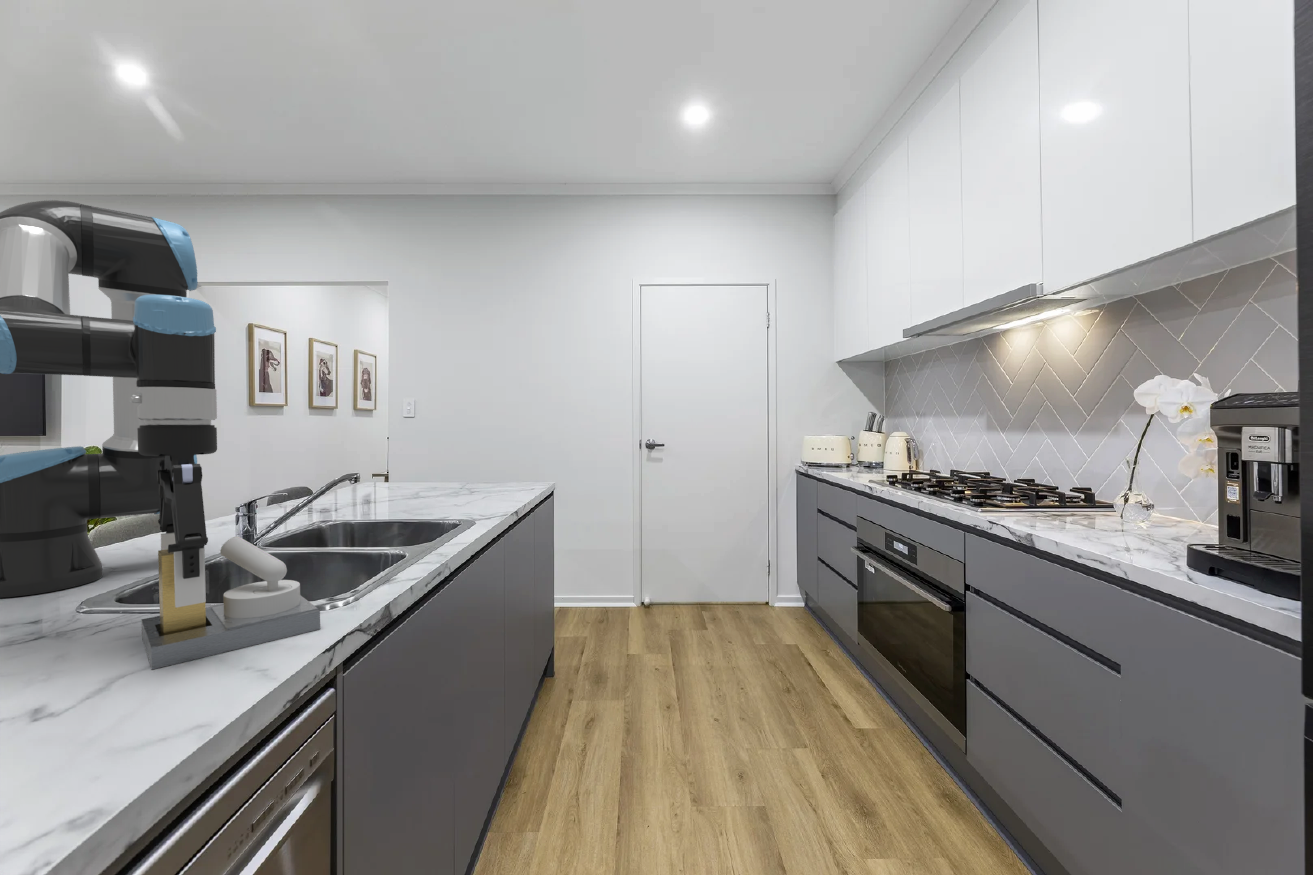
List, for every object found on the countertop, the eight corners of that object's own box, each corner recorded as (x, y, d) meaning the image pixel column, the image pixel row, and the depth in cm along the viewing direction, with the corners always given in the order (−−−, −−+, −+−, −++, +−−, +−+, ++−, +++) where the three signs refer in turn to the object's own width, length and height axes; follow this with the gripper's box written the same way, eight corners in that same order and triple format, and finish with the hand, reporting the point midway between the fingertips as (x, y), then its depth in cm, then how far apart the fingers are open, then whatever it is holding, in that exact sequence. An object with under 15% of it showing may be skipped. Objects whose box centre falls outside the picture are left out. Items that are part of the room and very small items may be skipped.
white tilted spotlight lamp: (255, 530, 82) (313, 533, 80) (256, 594, 82) (314, 599, 80) (196, 543, 73) (260, 546, 72) (198, 614, 74) (262, 620, 72)
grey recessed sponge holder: (141, 638, 72) (141, 618, 72) (293, 606, 85) (293, 589, 85) (151, 669, 63) (151, 646, 63) (320, 629, 76) (319, 610, 76)
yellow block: (160, 644, 70) (158, 550, 70) (201, 636, 73) (199, 545, 73) (164, 654, 68) (161, 555, 67) (206, 644, 71) (204, 550, 70)
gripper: (129, 422, 75) (134, 578, 76) (146, 423, 58) (152, 624, 59) (200, 422, 81) (204, 567, 82) (235, 423, 64) (239, 607, 64)
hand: (182, 592), depth 70 cm, fingers open, 13 cm apart
